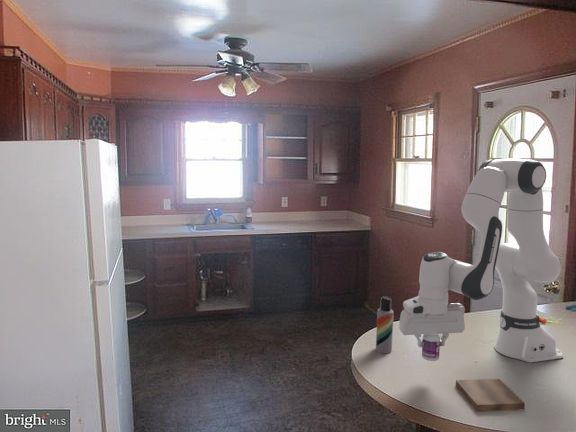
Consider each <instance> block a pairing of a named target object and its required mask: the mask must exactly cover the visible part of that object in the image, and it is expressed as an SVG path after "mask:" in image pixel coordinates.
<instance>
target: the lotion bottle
mask: <svg viewBox="0 0 576 432" xmlns="http://www.w3.org/2000/svg"><path fill="white" fill-rule="evenodd" d="M376 313H377V315H376V316H377V317H376V334H375V335H376V337H375V339H376V340H375V350H376V351H377V352H378V353H382V354H389V353H391V352H392V351H393V349H392V348H393V332H394V331H393V330H394V313H395V312H394V310H393V309H392V298H391V297H389V296H381V298H380V306H379V308H377V312H376Z"/></svg>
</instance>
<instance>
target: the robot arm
mask: <svg viewBox="0 0 576 432" xmlns="http://www.w3.org/2000/svg"><path fill="white" fill-rule="evenodd" d="M546 181H547V171H546V168H545V167H544V164H543V163H542V162H540V161H538V160H534V159H522V158H500V159H497V158H492V159H487V160H485V161H483V162H482V164H481V165H480V166H479V167H478V170H477V172H476V174H475V176H474V177H473V179H472V180H471V182H470V184H469V186H468V188H467V191H466V193H465V195H464V198H463V201H462V204H461V214H462V217H463V218H464V221H466V223H468V224H469V225H471V227H472V228H474V229H476V230H477V231H478V233H479V234H480V238H481V239H480V245H479V249H478V255H477V257H476V258H477V259H476V262H475V263H474V264H471V263H468V262H463V261H461V260H457V259H453V258H452V257H450V256H448V254H446V253H444V252H442V251H431V252H428V253H425V254H424V255H423V256H422V258H421V262H420V265H419V275H418V276H419V277H418V282H419V291H418V295H417V296H415V297H413V298H412V297H411V298H409V299H406V300H404V301H403V303H402V307H403V309H402V311H401V312H400V314H399V315H400V318H399V323H398V324H399V326H398V329H399V331H400V332H401V333H402V335H404V336H413V335H414V337H415V338H416V340H417V346H418V348H422V347H424V341H423V339H421V337H422V335H424V334H431V333H432V332H434V331H436V333H437V334H438V335H439V334H440V335H441V334H442V336H441V337H440V347H445V345H446V341H447V340H448V338H449V334H459V333H460V334H461V333H463V332H464V331H465V326H466V325H465V313H466V312H465V311H466V309H465V306H464V305H463V304H461V303H459V302H456V303H449V293H448V291H453V292H455V293H458V294H461V295H463V296H465V297H468V298H470V299H472V300H474V301H479V300H482V299H484V298H487V296H489V295H490V294H491V293H492V291H493V289H494V286H495V285H494V284H495V271H496V272H497V275H498V276H499V279H500V281H501V286H502V308H501V309H502V310H500V316H499V330H498V335H497V339H496V342H495V344H494V346H493V348H494V350H496V351H497V352H498V353H499V354H500V355H503V356H506V357H508V358H512V359H517V360H521V361H524V362H527V363H537V362H544V361H552V360H557V359H563V353H562V351H561V350H560V349H559V348H557V345H556V344H557V343H556V340H555V337H554V336H553V335H552V334H551V333H550V332H548V331H547V330H546V329H545V328H544V327H543V326H541V325H546V324H547V322H548V321H547V319H546V318H544V317H540V316H539V315H537V308H538V299H539V298H538V294H537V292H536V290H535V289H534V288H533V287H532V286H531V284H530V282H529V281H532V282H536V283H537V282H538V283H546V284H547V283H548V284H550V283H552V282H554V281H555V280H556V279H558V277H559V276H560V274H561V271H562V263H561V260H560V259H559V257H558V256H557V255H556V254H555V253H554V252H553V251H552V249H551V248H550V246H549V244H548V242H547V239H546V235H545V233H544V232H545V231H544V196H543V189H542V188H543V186H544V185H545V183H546ZM505 193H508V198H507V218H506V219H507V220H506V221H507V222H506V223H507V227H506V228H507V231H508V232H509V234H510V235H511V236H512V237H513V238H514V239H515V241H516V243H513V242H502V241H501V240H502V237H503V235H502V234H503V223H502V220H501V219H500V217H499V216H500V215H499V213H500V208H501V205H502V202H503V199H504V196H505Z"/></svg>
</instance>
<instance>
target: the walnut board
mask: <svg viewBox="0 0 576 432" xmlns="http://www.w3.org/2000/svg"><path fill="white" fill-rule="evenodd" d="M455 387H456V389H457V390H458V391H459V392H460V393H461V395H462V396H463V397H464V398H465V399H466V400H467V402H469V404H470V405H471V406H472V408H473V409H474V410H475V411H476V412H477V413H478V412H495V411H496V412H498V411H500V412H501V411H502V410H503V411H517V410H516V409H524V410H525V404H526V403H525V402H524V400H522V399H521V398H520V397H519V396H518V395H517V394H516V393H515V392H514V391H513V390H511V388H509V386H507V384H506V383H504V381H502V380H501V379H500V378H488V379H484V378H483V379H459V380H457V379H456V380H455Z"/></svg>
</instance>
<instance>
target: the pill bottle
mask: <svg viewBox="0 0 576 432" xmlns="http://www.w3.org/2000/svg"><path fill="white" fill-rule="evenodd" d="M440 339H441V337H440V335H439V334H437V333H436V331H434V332H432V333H431V334H422V340H423V341H424V347H421V348H422V349H421V357H422V358H423V359H424V360H426V361H428V362H436V361H438V360H439V359H440V350H441V349H440V348H441V346H440Z"/></svg>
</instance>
